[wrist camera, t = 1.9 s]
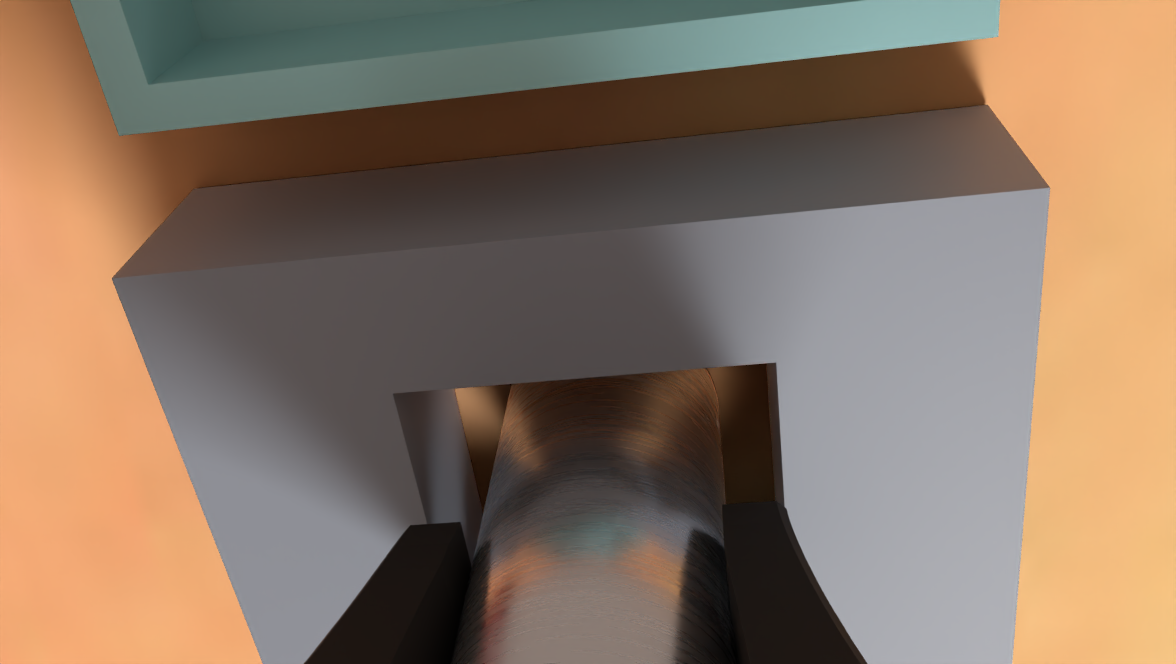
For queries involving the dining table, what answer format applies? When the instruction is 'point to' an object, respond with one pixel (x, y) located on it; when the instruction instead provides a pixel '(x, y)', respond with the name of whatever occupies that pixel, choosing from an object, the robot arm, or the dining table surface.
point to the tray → (459, 47)
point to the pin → (603, 527)
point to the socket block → (619, 350)
